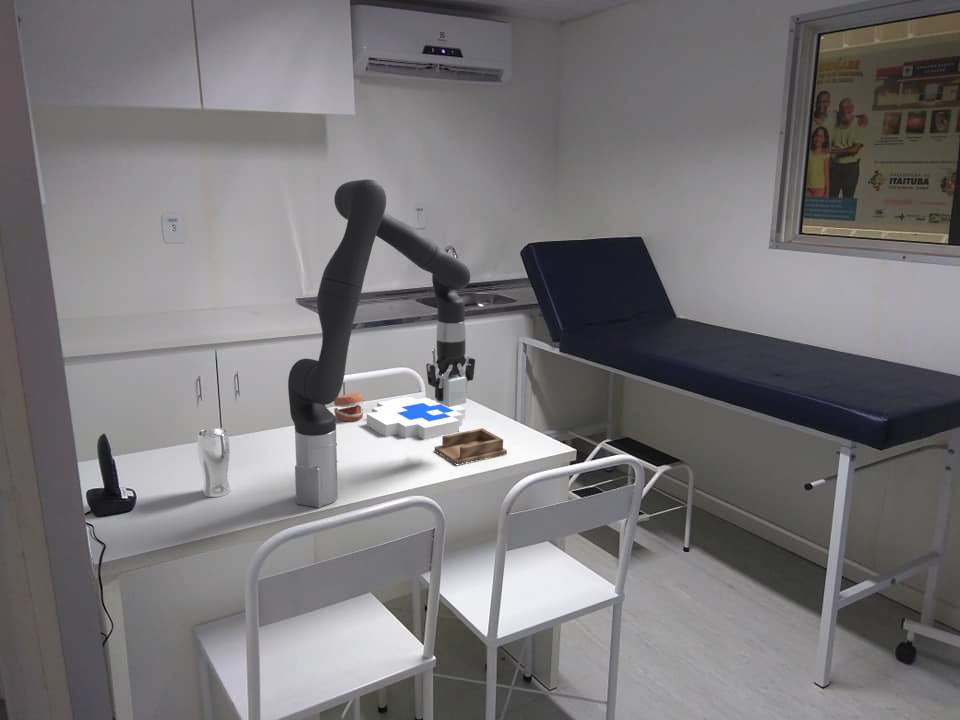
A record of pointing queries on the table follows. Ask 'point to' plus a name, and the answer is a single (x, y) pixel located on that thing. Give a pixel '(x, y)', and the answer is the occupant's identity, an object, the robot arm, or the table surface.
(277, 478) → the table surface
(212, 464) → the beer glass
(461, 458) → the U-rest
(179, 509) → the table surface
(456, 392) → the product box
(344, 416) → the dentures
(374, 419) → the pixel art tile
